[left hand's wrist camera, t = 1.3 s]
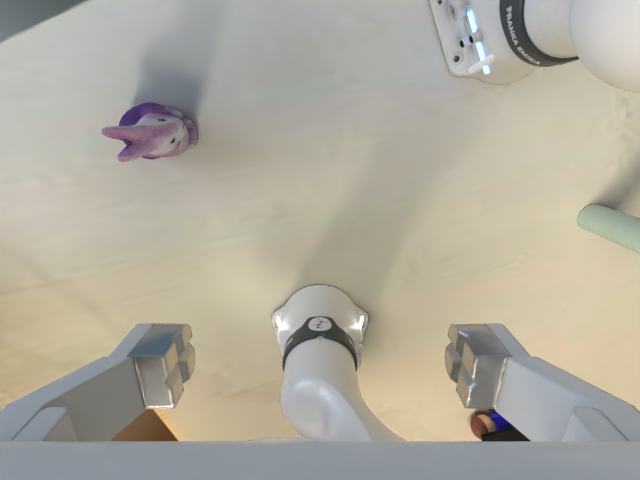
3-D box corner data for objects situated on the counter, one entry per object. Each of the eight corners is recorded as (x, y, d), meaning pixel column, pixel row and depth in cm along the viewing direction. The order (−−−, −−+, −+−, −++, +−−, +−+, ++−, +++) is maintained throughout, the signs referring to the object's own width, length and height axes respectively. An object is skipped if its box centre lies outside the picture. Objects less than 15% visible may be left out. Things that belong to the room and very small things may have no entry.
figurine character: (528, 388, 74) (464, 410, 74) (555, 416, 67) (483, 440, 67) (531, 411, 77) (468, 431, 77) (557, 440, 69) (488, 463, 69)
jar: (609, 213, 59) (696, 243, 45) (588, 234, 60) (666, 269, 47) (592, 198, 58) (675, 225, 44) (571, 219, 59) (646, 251, 46)
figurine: (213, 128, 54) (175, 134, 40) (173, 173, 56) (124, 193, 42) (165, 81, 51) (107, 69, 37) (126, 129, 54) (58, 135, 40)
